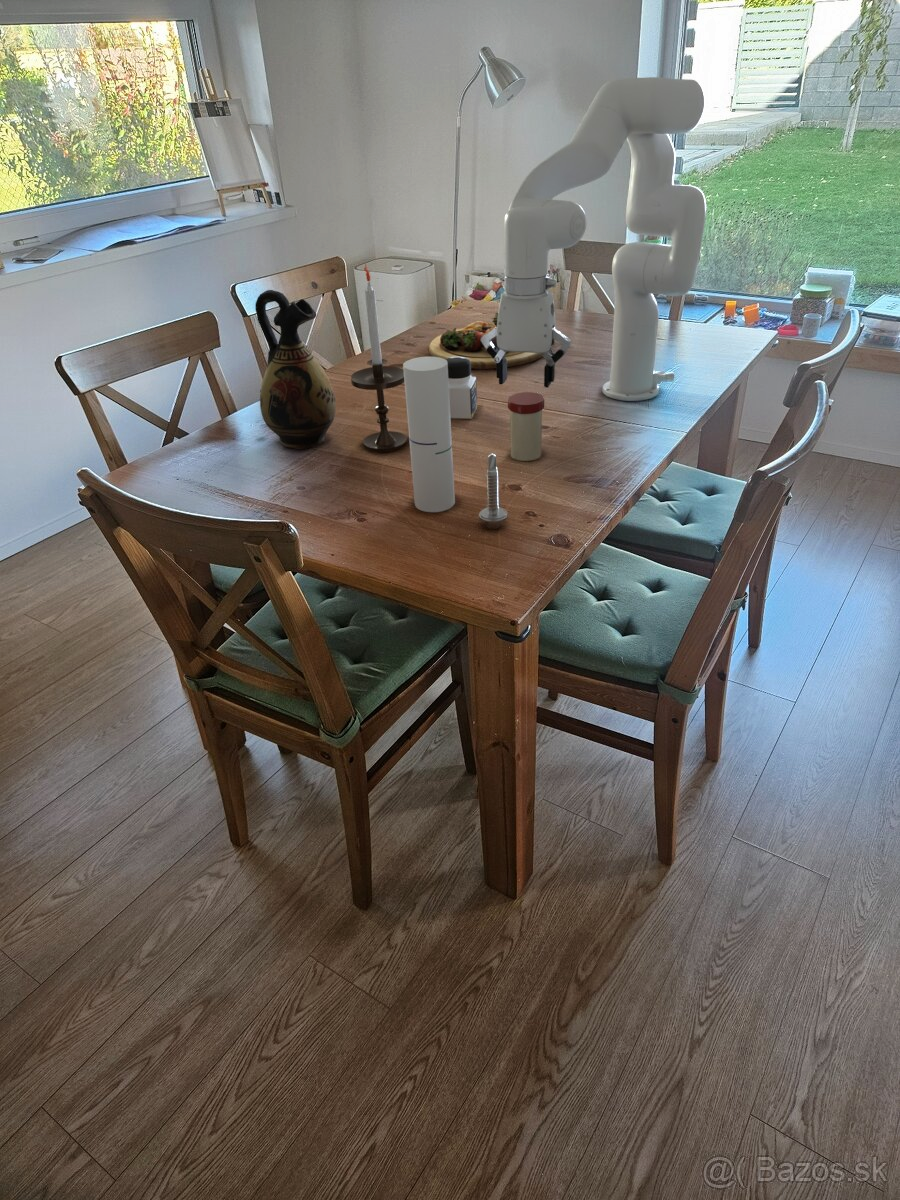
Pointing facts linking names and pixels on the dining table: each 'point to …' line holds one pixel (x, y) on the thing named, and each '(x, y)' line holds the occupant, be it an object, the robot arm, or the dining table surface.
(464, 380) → the medicine bottle
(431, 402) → the cylindrical container
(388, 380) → the candlestick
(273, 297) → the ceramic jug
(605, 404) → the dining table surface
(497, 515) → the screw
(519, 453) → the jar
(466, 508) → the dining table surface
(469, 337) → the wooden plate
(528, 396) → the lid
